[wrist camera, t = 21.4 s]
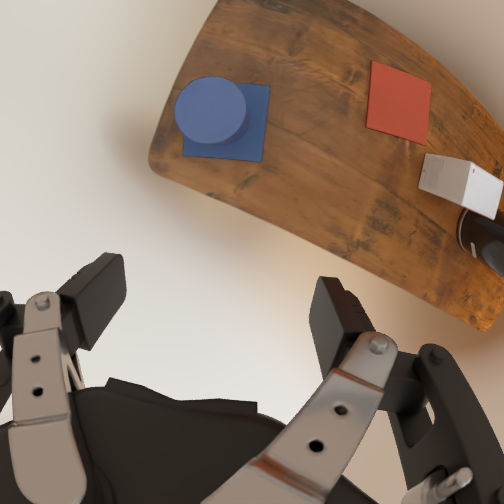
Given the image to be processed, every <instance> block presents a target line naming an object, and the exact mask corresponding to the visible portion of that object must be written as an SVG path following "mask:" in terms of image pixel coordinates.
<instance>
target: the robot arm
mask: <svg viewBox="0 0 504 504" xmlns="http://www.w3.org/2000/svg"><path fill="white" fill-rule="evenodd" d="M457 238H458V242H459V245H460V246H461V248H462V249H463V250H465V251H466V252H468V253H470V254H471V255H473V257H475V258H477V259H478V260H480V261H481V262H482V263H484V264H485V265H487V266H488V267H489V268H491V269H492V270H493V271H495V272H496V273H497V274H498V275H500V276H501V277H502V278H504V211H502V210H499V209H497V212H496V215H495V219H494V220H492V219H489V218H487V217H485V216H482V215H480V214H478V213H475V212H473V211H471V210H469V209H466V208H465V209H464V210H463V212H462V214H461V216H460V219H459V222H458V227H457ZM126 290H127V289H126V280H125V270H124V260H123V257H122V255H121V254H114V253H106V252H105V253H103V254H102V255H101V256H100V257H98V258H97V259H96V260H95V261H94V262H93V263H91V264H88V265H86V266H84V267H83V268H81V269H80V270H79V271H78V272H77V274H75V275H74V276H72V278H71V279H69V280H68V281H67V282H66V283H65V284H64V285H63V286H61V287H60V288H59V290H57V291H56V292H55V293H54V292H41V293H38V294H36V295H34V296H32V297H31V298H30V299H29V300H28V301H27V303H26V304H14V301H13V297H12V294H11V293H10V292H7V291H0V345H1V348H2V350H1V351H0V412H1V411H2V409H3V407H4V405H5V404H6V402H7V400H8V398H9V397H10V395H11V394H12V407H13V420H12V421H9V422H7V423H5V424H3V425H0V504H378V503H377V502H376V501H375V500H373V499H372V498H371V497H369V496H368V495H367V494H366V493H364V492H363V491H362V490H361V489H359V488H358V487H357V486H356V485H354V484H353V483H352V482H351V481H350V480H348V479H347V478H346V477H345V476H344V475H342V473H343V471H344V470H345V468H346V467H347V465H348V463H349V461H350V460H351V458H352V456H353V454H354V453H355V451H356V449H357V448H358V446H359V444H360V442H361V440H362V439H363V437H364V434H365V433H366V430H367V429H368V427H369V425H370V423H371V421H372V419H373V417H374V415H375V413H376V410H383V411H387V413H388V416H389V420H390V423H391V427H392V430H393V433H394V437H395V440H396V445H397V448H398V452H399V456H400V460H401V464H402V468H403V472H404V476H405V480H406V485H407V490H408V492H407V493H406V494H405V495H404V497H403V499H402V502H401V504H504V454H503V451H502V449H501V447H500V444H499V442H498V440H497V438H496V436H495V433H494V431H493V429H492V427H491V425H490V423H489V421H488V419H487V417H486V415H485V413H484V411H483V409H482V407H481V405H480V403H479V402H478V399H477V398H476V396H475V394H474V392H473V390H472V389H471V387H470V385H469V383H468V382H467V380H466V378H465V377H464V375H463V373H462V371H461V370H460V368H459V367H458V365H457V363H456V362H455V360H454V358H453V357H452V355H451V354H450V353H449V352H448V351H447V350H446V349H445V348H443V347H441V346H439V345H436V344H425V345H423V346H422V347H421V348H420V350H419V352H418V354H417V355H416V354H411V353H406V352H401V351H398V347H397V344H396V343H395V342H394V340H393V339H391V338H390V337H389V336H387V335H385V334H382V333H380V332H376V330H375V329H374V327H373V325H372V323H371V321H370V319H369V318H368V316H367V314H366V313H365V310H364V309H363V307H362V305H361V303H360V301H359V300H358V298H357V297H356V296H355V295H353V294H352V293H351V292H350V291H347V290H344V288H343V286H342V284H341V282H340V281H339V279H338V278H334V277H323V276H320V277H319V278H318V280H317V283H316V288H315V292H314V296H313V300H312V304H311V308H310V314H309V324H310V328H311V332H312V336H313V339H314V344H315V348H316V352H317V356H318V359H319V364H320V368H321V372H322V377H323V382H322V383H321V385H320V386H319V387H318V389H317V390H316V391H315V393H314V394H313V395H312V396H311V398H310V399H309V400H308V401H307V402H306V404H305V405H304V406H303V407H302V408H301V410H300V411H299V412H298V413H297V414H296V415H295V417H294V418H293V419H292V420H291V421H290V422H289V424H288V425H285V424H284V423H282V422H281V421H278V420H276V419H274V418H272V417H269V416H267V415H264V414H260V413H257V402H252V401H239V400H228V399H204V400H183V401H181V400H174V399H172V398H169V397H167V396H165V395H162V394H160V393H158V392H155V391H153V390H151V389H148V388H147V387H145V386H142V385H138V384H134V383H130V382H126V381H122V380H118V379H115V378H111V377H110V378H109V379H108V381H107V383H106V385H105V387H90V388H85V385H84V381H83V377H82V373H81V368H80V364H79V359H78V355H77V353H76V351H77V349H78V348H81V349H84V350H88V351H91V349H92V347H93V346H94V344H95V343H96V341H97V340H98V338H99V337H100V335H101V334H102V332H103V331H104V329H105V328H106V327H107V325H108V324H109V322H110V321H111V319H112V317H113V316H114V315H115V314H116V312H117V311H118V309H119V308H120V306H121V305H122V304H123V302H124V300H125V297H126ZM428 402H430V404H431V407H432V409H433V411H434V415H435V420H434V424H432V422H431V419H430V417H429V414H428V412H427V409H426V407H425V406H426V404H427V403H428Z"/></svg>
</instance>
